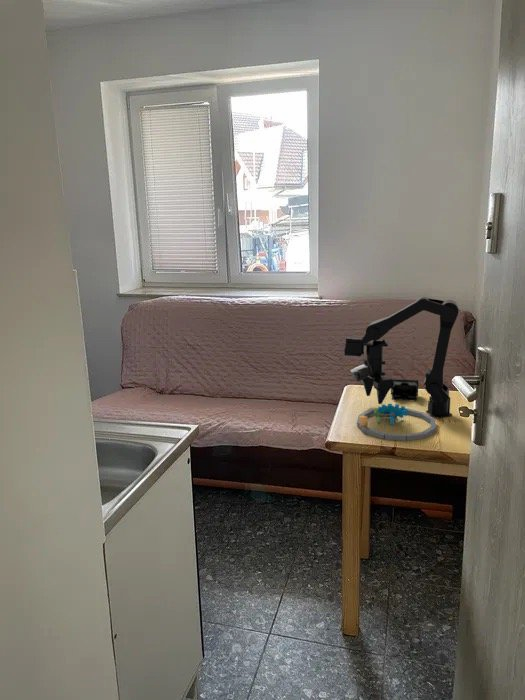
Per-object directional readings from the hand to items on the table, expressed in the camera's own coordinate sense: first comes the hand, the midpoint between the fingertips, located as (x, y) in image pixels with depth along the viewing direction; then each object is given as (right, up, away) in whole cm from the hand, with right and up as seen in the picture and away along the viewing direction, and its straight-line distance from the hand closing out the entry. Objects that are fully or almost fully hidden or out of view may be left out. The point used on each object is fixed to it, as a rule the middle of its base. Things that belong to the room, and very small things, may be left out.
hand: (373, 399), depth 193 cm
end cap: (+14, 0, +12) cm, 18 cm away
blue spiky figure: (+3, -7, -11) cm, 13 cm away
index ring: (+4, -7, -14) cm, 16 cm away
